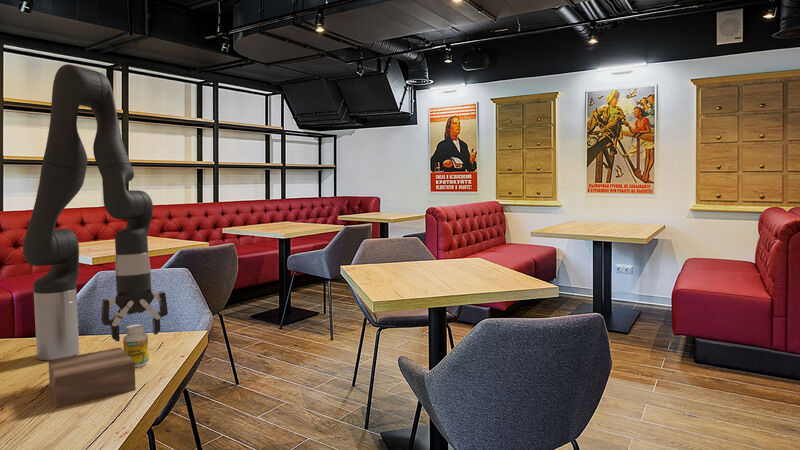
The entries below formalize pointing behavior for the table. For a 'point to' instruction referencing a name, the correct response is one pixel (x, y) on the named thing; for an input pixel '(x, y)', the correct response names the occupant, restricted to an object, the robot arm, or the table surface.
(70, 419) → the table surface
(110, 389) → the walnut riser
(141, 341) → the supplement bottle
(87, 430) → the table surface
